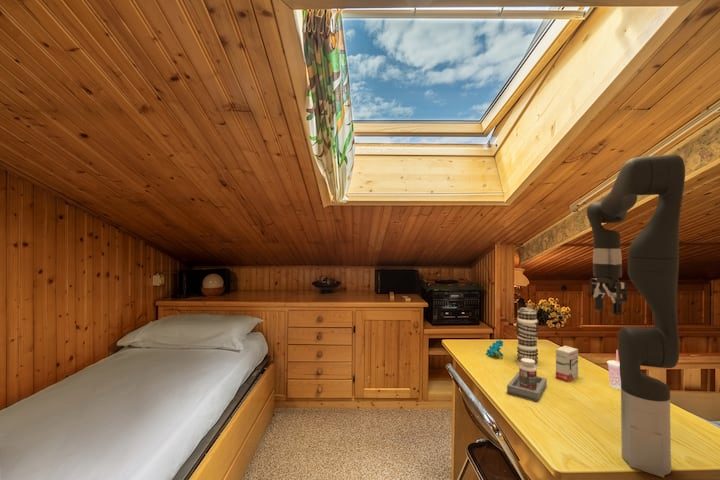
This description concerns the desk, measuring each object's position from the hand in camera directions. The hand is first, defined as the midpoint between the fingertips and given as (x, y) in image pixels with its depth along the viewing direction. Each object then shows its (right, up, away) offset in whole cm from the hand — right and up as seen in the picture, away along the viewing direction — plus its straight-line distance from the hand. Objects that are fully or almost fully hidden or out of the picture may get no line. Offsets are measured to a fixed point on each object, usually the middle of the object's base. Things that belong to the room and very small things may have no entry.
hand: (607, 312), depth 106 cm
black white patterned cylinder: (-5, -33, +41) cm, 53 cm away
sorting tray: (-19, -32, +15) cm, 40 cm away
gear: (-15, -33, +51) cm, 63 cm away
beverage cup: (+17, -32, +17) cm, 40 cm away
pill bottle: (-18, -31, +15) cm, 39 cm away
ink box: (+3, -32, +26) cm, 41 cm away
